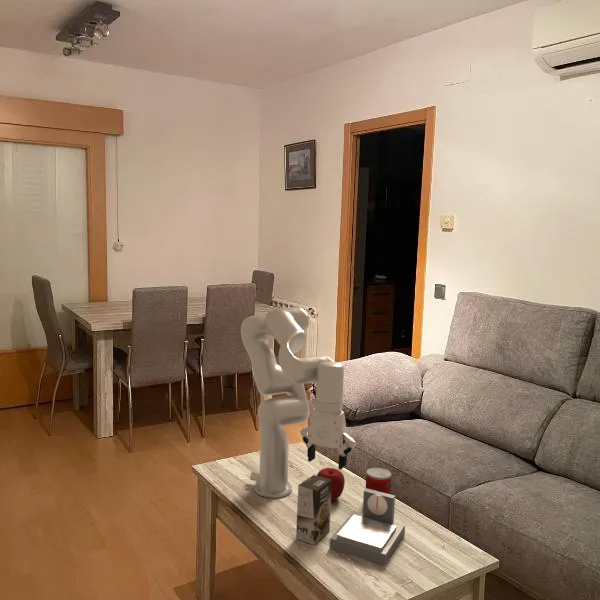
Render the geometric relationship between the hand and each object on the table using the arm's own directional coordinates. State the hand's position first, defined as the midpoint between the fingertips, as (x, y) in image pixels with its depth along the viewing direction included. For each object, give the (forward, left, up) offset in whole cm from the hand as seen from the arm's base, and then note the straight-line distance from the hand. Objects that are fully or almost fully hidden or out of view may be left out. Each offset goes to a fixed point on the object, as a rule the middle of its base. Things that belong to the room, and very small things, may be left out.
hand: (326, 463), depth 164 cm
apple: (-7, +21, -22) cm, 31 cm away
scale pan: (+13, +1, -18) cm, 22 cm away
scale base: (+13, +3, -21) cm, 25 cm away
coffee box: (-2, -2, -22) cm, 22 cm away
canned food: (+8, +25, -22) cm, 34 cm away
